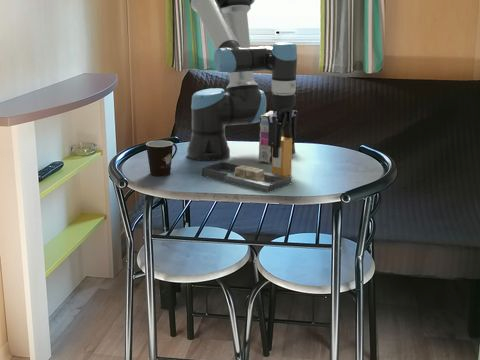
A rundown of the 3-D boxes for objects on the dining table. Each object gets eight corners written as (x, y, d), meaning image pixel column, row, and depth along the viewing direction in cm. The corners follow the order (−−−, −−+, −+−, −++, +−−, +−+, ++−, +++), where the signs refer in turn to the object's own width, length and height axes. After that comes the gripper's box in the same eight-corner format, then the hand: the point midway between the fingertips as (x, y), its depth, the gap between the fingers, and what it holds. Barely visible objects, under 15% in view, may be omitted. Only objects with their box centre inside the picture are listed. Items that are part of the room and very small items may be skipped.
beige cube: (234, 180, 213) (234, 167, 211) (242, 177, 216) (242, 165, 214) (244, 182, 210) (244, 170, 209) (252, 179, 213) (252, 167, 212)
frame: (201, 175, 217) (201, 168, 216) (223, 168, 225) (223, 161, 224) (225, 181, 211) (225, 173, 210) (246, 174, 219) (246, 166, 218)
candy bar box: (272, 164, 230) (273, 116, 226) (258, 162, 232) (259, 115, 227) (281, 156, 240) (283, 111, 236) (268, 155, 242) (269, 110, 237)
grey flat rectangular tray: (224, 181, 210) (224, 175, 210) (248, 173, 219) (248, 167, 219) (268, 192, 200) (268, 186, 199) (291, 183, 209) (291, 177, 208)
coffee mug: (152, 178, 213) (151, 148, 210) (143, 172, 220) (142, 142, 217) (186, 174, 218) (186, 144, 215) (176, 167, 225) (175, 138, 222)
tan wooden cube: (246, 182, 210) (246, 170, 209) (253, 179, 213) (254, 167, 212) (256, 185, 207) (256, 172, 206) (264, 182, 210) (264, 169, 209)
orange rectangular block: (271, 175, 218) (272, 138, 214) (279, 172, 221) (280, 136, 218) (283, 177, 215) (284, 140, 212) (291, 174, 219) (292, 138, 215)
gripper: (276, 98, 202) (275, 173, 208) (309, 91, 215) (306, 161, 222) (256, 95, 206) (255, 168, 213) (289, 88, 219) (287, 158, 226)
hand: (281, 165), depth 217 cm, fingers closed on orange rectangular block, 4 cm apart
